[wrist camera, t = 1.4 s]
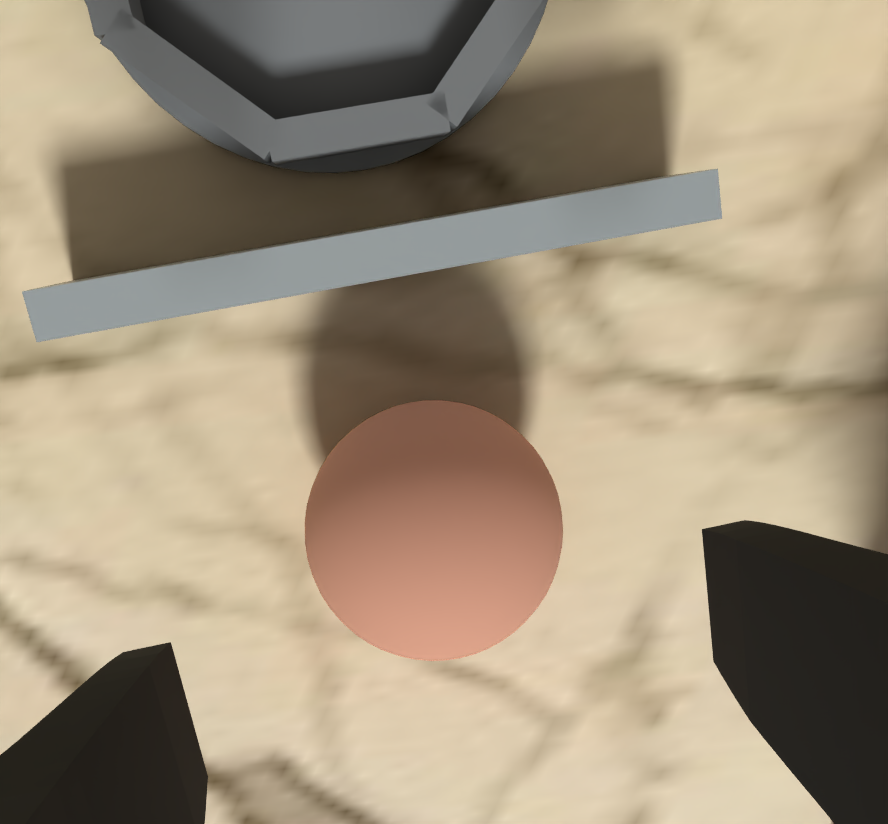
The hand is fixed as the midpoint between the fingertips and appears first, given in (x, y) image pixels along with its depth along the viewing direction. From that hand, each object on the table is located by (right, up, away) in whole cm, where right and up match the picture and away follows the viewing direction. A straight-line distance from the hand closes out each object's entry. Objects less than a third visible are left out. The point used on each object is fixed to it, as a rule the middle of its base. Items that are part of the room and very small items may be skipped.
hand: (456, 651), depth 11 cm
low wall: (-2, +7, +9) cm, 11 cm away
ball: (-1, +1, +10) cm, 10 cm away
